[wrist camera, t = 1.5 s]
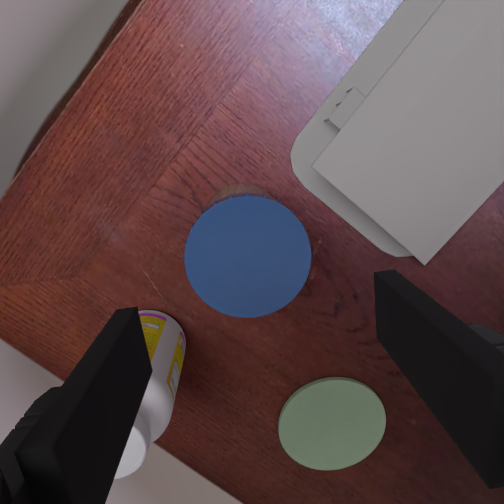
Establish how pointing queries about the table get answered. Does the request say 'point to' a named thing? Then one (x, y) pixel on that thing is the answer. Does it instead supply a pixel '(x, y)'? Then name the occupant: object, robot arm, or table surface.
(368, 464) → the table surface
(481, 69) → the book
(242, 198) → the jar lid
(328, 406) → the coaster
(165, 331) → the supplement bottle
